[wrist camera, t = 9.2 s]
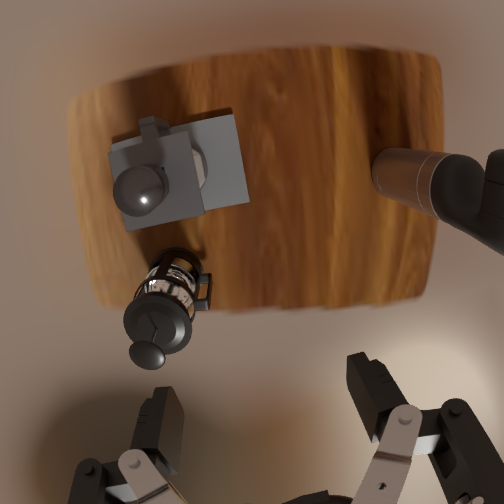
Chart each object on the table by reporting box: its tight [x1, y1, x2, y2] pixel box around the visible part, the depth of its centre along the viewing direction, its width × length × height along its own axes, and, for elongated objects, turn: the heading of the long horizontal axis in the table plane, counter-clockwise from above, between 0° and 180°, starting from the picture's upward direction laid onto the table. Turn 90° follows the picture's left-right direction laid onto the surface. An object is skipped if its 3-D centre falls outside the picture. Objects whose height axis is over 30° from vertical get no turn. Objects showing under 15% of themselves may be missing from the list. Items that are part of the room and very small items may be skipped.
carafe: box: [108, 115, 208, 232], centre depth 37 cm, size 9×12×15 cm
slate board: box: [111, 114, 250, 210], centre depth 45 cm, size 20×14×1 cm
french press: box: [123, 248, 213, 370], centre depth 40 cm, size 12×9×23 cm
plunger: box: [113, 164, 169, 217], centre depth 31 cm, size 4×4×15 cm
